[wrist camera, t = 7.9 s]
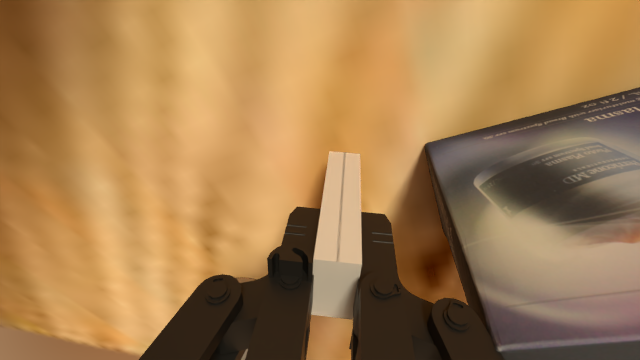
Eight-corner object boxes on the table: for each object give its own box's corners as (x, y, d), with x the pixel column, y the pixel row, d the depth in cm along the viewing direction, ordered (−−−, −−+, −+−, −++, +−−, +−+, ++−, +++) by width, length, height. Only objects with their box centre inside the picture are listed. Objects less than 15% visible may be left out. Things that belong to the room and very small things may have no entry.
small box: (692, 61, 13) (1424, 279, 4) (663, 189, 16) (1029, 463, 7) (419, 137, 16) (495, 357, 7) (441, 232, 19) (513, 462, 10)
